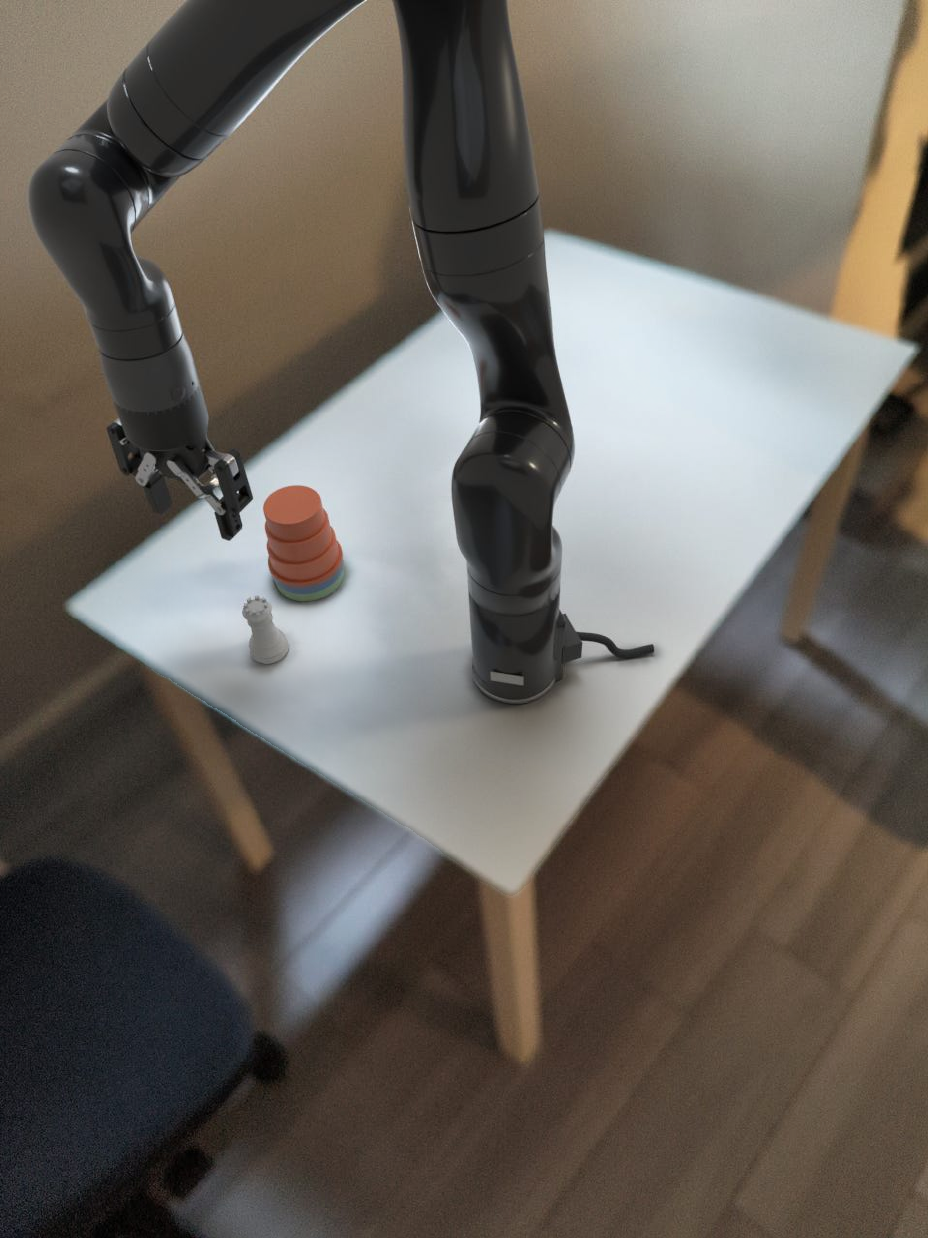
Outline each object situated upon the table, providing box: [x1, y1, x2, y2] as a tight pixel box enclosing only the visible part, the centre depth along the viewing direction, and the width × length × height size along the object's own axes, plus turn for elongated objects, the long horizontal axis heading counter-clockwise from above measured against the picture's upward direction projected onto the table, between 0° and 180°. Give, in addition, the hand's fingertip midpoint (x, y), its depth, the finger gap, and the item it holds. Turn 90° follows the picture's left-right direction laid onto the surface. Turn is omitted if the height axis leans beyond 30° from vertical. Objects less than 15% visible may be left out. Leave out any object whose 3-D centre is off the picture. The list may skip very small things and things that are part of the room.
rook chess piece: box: [241, 595, 290, 665], centre depth 102 cm, size 4×4×8 cm
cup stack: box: [262, 484, 345, 602], centre depth 108 cm, size 9×9×12 cm
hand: (197, 521), depth 92 cm, fingers open, 8 cm apart
